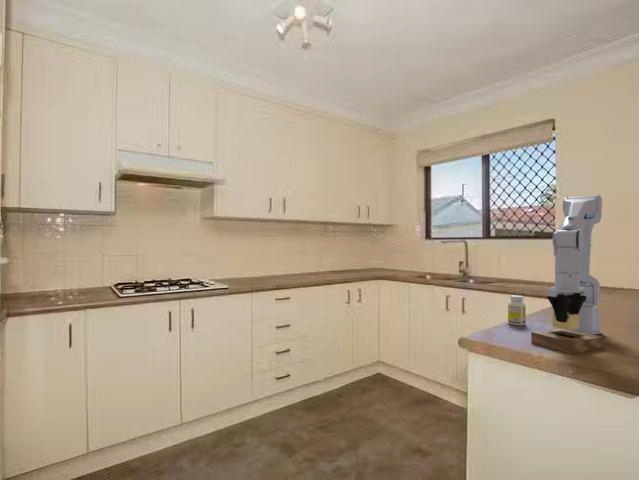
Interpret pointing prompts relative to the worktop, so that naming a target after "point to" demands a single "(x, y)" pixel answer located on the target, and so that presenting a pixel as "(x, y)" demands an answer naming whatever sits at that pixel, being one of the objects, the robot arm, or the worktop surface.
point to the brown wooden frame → (567, 340)
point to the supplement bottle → (516, 310)
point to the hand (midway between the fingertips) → (566, 321)
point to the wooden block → (567, 321)
